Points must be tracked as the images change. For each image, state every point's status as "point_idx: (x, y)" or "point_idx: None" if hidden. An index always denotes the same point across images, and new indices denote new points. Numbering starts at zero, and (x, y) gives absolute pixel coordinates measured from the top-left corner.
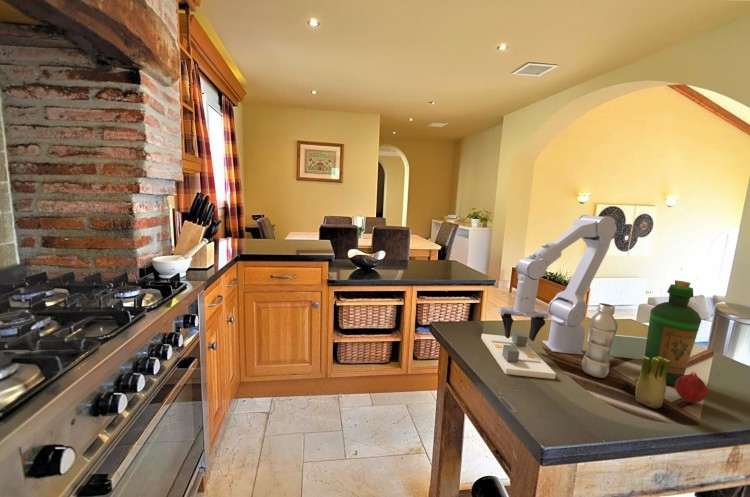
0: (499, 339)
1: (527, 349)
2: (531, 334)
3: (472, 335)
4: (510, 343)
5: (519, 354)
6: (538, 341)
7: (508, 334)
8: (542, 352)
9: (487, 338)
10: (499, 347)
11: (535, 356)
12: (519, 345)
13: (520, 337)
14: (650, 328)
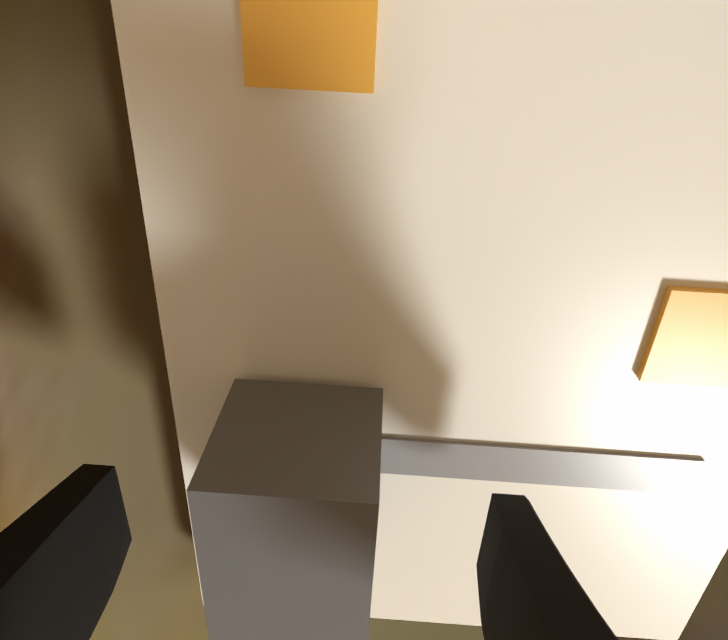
0: None
1: (241, 302)
2: (77, 580)
3: (719, 627)
4: (433, 448)
5: (488, 67)
6: None
7: (542, 546)
8: (18, 355)
9: (692, 544)
10: (725, 291)
11: (192, 30)
12: (334, 388)
13: (325, 485)
14: None
